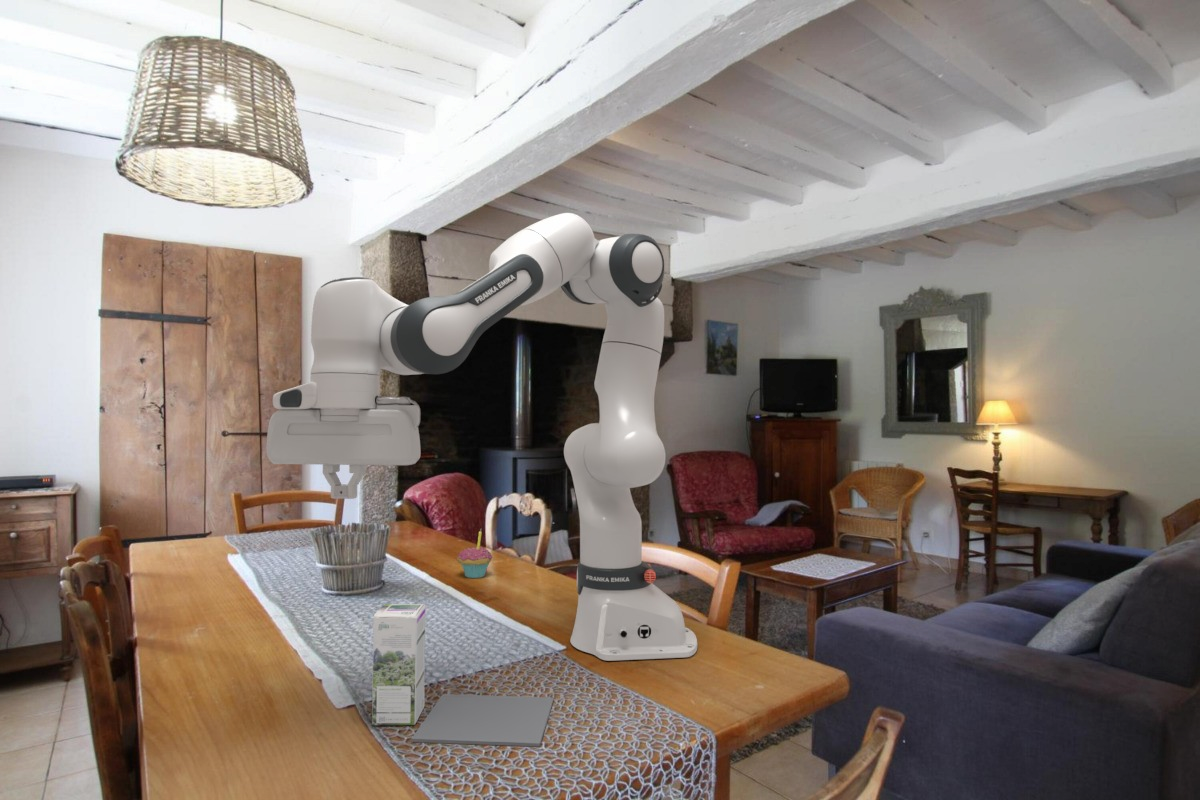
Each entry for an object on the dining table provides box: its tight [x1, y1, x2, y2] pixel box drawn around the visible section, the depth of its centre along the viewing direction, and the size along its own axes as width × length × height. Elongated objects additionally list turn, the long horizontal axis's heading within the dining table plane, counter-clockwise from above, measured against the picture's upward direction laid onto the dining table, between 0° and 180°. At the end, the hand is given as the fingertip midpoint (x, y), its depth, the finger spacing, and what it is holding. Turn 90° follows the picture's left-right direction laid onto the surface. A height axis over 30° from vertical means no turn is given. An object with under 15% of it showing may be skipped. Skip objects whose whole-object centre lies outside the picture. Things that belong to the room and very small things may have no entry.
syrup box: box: [371, 603, 427, 726], centre depth 88 cm, size 6×6×14 cm
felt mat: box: [411, 693, 555, 748], centre depth 87 cm, size 16×13×1 cm
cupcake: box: [456, 529, 493, 579], centre depth 164 cm, size 9×8×12 cm
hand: (344, 498), depth 89 cm, fingers closed
